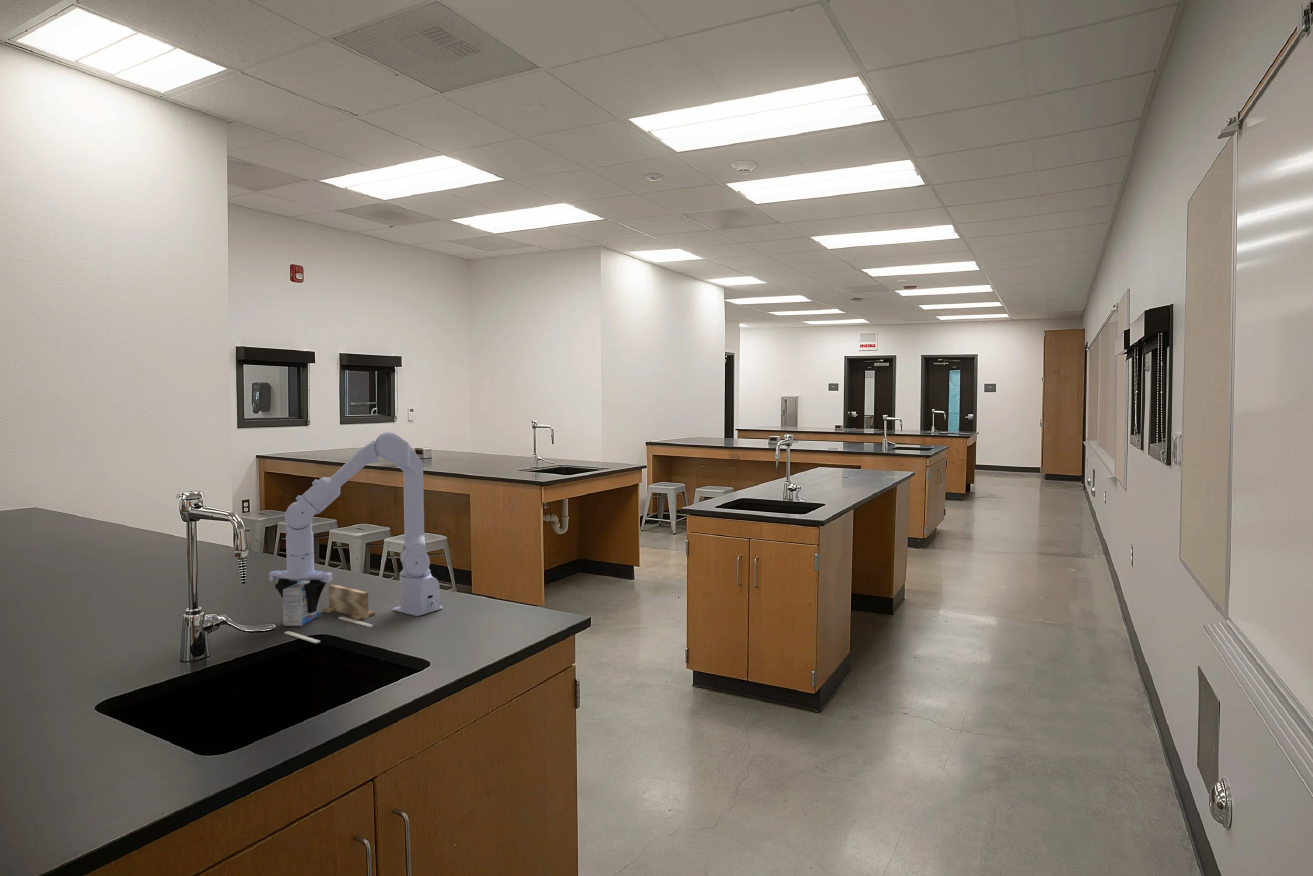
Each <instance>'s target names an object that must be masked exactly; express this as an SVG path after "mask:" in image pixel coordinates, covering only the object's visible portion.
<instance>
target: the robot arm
mask: <svg viewBox="0 0 1313 876" xmlns="http://www.w3.org/2000/svg"><path fill="white" fill-rule="evenodd" d="M379 457H380V458H381V459H383V460H385V461H387V462H390V463H393V464H394V465H396V467H398V468H399V469H400V470H401V471H402V472H403V473H402V474H403V524H404V525H403V526H404V527H403V528H404V536H403V547H402V549H401V552H400V554H399V558H400V562H401V565H402V570H401V571H400V572H399V606H397V607H396V606H395V607H392V611H395V612H397V613H403V614H406V615H409V616H410V615H411V616H415V617H419V616H422V615H426V614H429V613H432V612H435V611H439V610H442V609H443V608H444V607H443V606H442V605H441V590H440V589H441V588H440V585H441V584H440V582H439V580H438V579H437V578H436V577H434V576H433V575H432V573H431V569H430V565H431V561H430V556H429V555H428V553H427V548H426V539H425V507H424V505H425V503H424V502H425V501H424V496H425V495H424V463H423V461H422V459H421V458H420V457H419V456H418V454H417V453H416V451H414V449H413V448H412V446H411V445H410V444H409V441H407V440H405V439H404V438H402V437H400V436H399V435H398V434H396V433H394V432H390V431H389V432H384V433H380V434H379V436H378V437H377V438H376V440H375V439H373V440H372V441H369V443H367V444H366V445H363V447H361V448H360V449H359V450H358V451H357V452H356V453H355V454H354V455H353V456H352V457H351V458H349V459H348V461H346V462H345V463H344V464H343V465H342V466H341V467H340V468H339V469H338V470H337V471H336V472H335V473H333V474H332V476H329V477H325V476H324V477H321V478H319V479H314V480H313V481H312V483H311V484H312V485H311V487H309V488H308V489H307V490H305V492H304V493H303V494H301V495H299V494H298V495H297V496H296V497H295V500H296V501H294V502H292V503H291V504H289V506H288V507H287V509H286V510H285V513H284V521H285V523H286V527H285V530H286V531H285V532H286V534H285V548H286V549H285V550H286V551H285V552H286V553H285V554H286V569H285V570H273V571H269V573H268V575H269V576H268V578H269V580H268V581H269V582H271V581H277V583H275V584H274V587H275V589H276V590H277V591H278V593H279V595H280V596H281V598H282V600H283V589H285V588H288V587H290V586H292V585H294V584H297V583H299V582H301V581H310V583H307V584H304V588H305V590H306V594H307V600H308V612H309V613H313V612H315V611H316V610H317V605H318V601H319V602H320V597H321V594H322V592H323V590H324V588H325V586H326V584H327V583H329V582H332V581H333V572H330V571H329V572H328V571H323V570H322V571H321V570H315V549H314V548H315V547H314V544H315V543H314V542H315V541H314V540H315V539H314V532H313V520H314V516H315V515H318V514H321V512H323V511H324V510H325V509H327V507H329V506H330V505H331V504H332V503H333V502H334V501H335V500H336V499H338V497H340V495H341V487H342V486H343V485H344V484H345V483H347V481H349V480H350V479H351V478H352V477H353V476H355V475H356V474H358V473H359V472H360V471H361V470H362V469H363V468H364V467H365V466H367V465H369V464H374V463H377V462H380V459H379Z"/></svg>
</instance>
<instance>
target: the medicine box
mask: <svg viewBox="0 0 1313 876" xmlns="http://www.w3.org/2000/svg"><path fill="white" fill-rule="evenodd" d="M307 583H310V581H298V582H297V584H294V585H292V586H290V587H288V588H285V589H283V599H282V609H283V610H282V611H283V612H282V613H283V614H282V617H283V622H282V623H283V626H286V627H287V626H288V627H304V625H306V624H309V623H310V622H311V621H313V620H315V619H316V618H318V617H319V616H320V600H319V601H318V605H317V610H316V611H315V612H313V613H309V612H308V600H307V594H306V590H305V588H304V584H307Z"/></svg>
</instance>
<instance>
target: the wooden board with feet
mask: <svg viewBox="0 0 1313 876" xmlns="http://www.w3.org/2000/svg"><path fill="white" fill-rule="evenodd" d="M328 605H329V606H326V607H323V608H322V612H323V613H328V614H330V613H333V612H334V613H335V612H338V613H342V614H344V615H345V614H346V615H349V618H350V619H353V620H357V621H360V620H363V619H368V618H369V617H373V616H376V613H375V611H373V610H369V592H367V591H363V590H360V589H355V588H351V587H348V586H341V585H338V584H329V585H328Z"/></svg>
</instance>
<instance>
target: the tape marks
mask: <svg viewBox="0 0 1313 876" xmlns="http://www.w3.org/2000/svg"><path fill="white" fill-rule="evenodd" d="M338 620H341V621H345V622H349V623H352V624H355V625H360V626H363V627H366V628H373V627H374V624H371V623H368V622H364V621H360V620H353V619H350V617H346V616H339V617H338ZM283 633H284V634H285V635H288V636H290V637H294V638H298V639H300V640H303V641H307V642H310V643H313V644H319V643H321V640H319V639H316V638H313V637H309V636H306V635H302V634H300V633H297V632H293V631H290V630H287V631H284V632H283Z"/></svg>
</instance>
